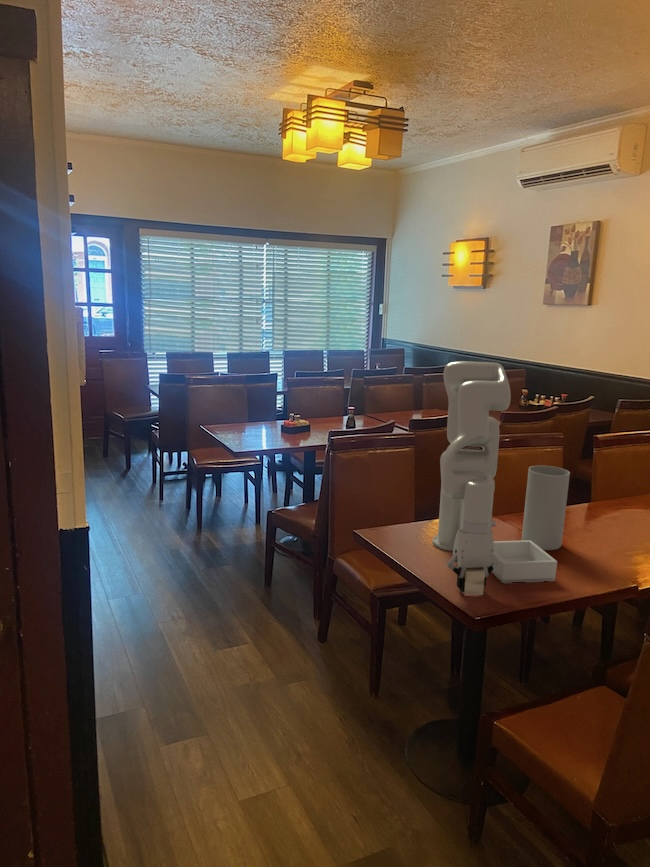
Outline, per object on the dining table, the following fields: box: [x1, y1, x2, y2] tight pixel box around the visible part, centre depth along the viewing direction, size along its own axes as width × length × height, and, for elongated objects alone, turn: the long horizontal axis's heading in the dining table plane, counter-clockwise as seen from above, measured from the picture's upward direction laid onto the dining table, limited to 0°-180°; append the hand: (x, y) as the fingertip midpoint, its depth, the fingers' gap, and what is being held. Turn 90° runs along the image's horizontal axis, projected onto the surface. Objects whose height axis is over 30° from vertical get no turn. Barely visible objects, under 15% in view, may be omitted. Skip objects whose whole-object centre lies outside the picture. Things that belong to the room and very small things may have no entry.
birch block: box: [462, 567, 485, 596], centre depth 169 cm, size 5×5×7 cm
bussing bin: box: [490, 539, 558, 584], centre depth 184 cm, size 16×16×6 cm
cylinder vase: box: [521, 465, 571, 551], centre depth 203 cm, size 12×12×25 cm
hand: (470, 588), depth 170 cm, fingers closed on birch block, 5 cm apart
